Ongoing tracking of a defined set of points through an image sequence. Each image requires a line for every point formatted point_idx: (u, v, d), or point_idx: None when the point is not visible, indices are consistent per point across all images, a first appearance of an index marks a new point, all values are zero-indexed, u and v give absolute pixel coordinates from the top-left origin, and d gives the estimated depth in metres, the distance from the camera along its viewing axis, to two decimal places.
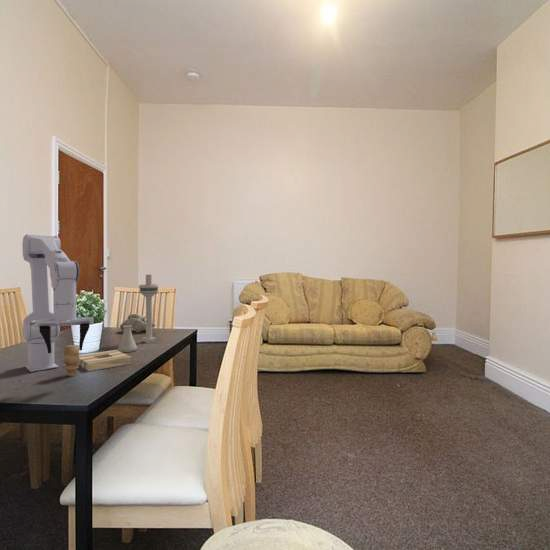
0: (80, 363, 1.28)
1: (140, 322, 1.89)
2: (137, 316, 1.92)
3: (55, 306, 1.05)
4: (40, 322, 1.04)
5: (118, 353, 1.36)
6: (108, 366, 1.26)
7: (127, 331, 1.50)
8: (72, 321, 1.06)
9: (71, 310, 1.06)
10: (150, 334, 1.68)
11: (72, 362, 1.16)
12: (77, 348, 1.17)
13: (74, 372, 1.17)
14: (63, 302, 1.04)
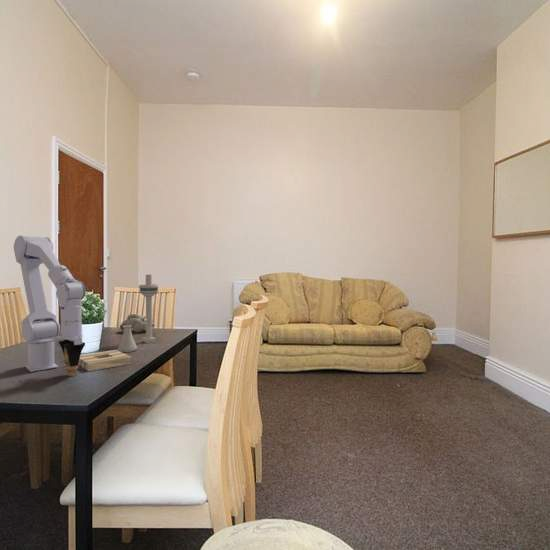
0: (80, 363, 1.28)
1: (140, 322, 1.89)
2: (137, 316, 1.92)
3: None
4: None
5: (118, 353, 1.36)
6: (108, 366, 1.26)
7: (127, 331, 1.50)
8: (63, 338, 1.14)
9: (64, 327, 1.14)
10: (150, 334, 1.68)
11: None
12: None
13: (74, 372, 1.17)
14: (73, 319, 1.15)
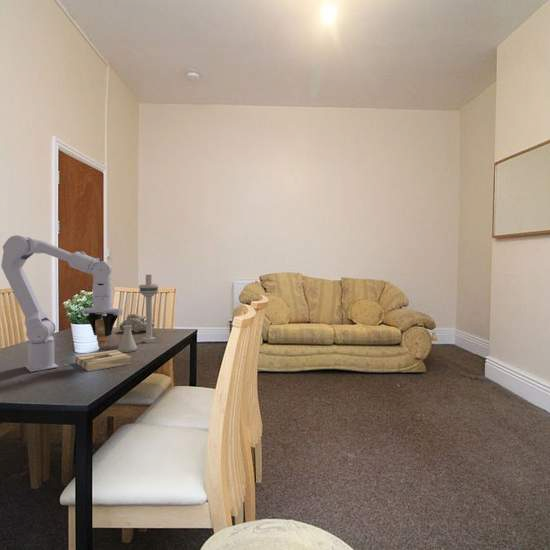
0: (80, 363, 1.28)
1: (139, 322, 1.88)
2: (136, 316, 1.92)
3: (93, 298, 1.30)
4: (85, 309, 1.31)
5: (118, 353, 1.36)
6: (108, 366, 1.26)
7: (127, 331, 1.50)
8: (101, 311, 1.28)
9: (101, 301, 1.28)
10: (150, 334, 1.68)
11: None
12: None
13: (106, 342, 1.31)
14: (109, 294, 1.30)
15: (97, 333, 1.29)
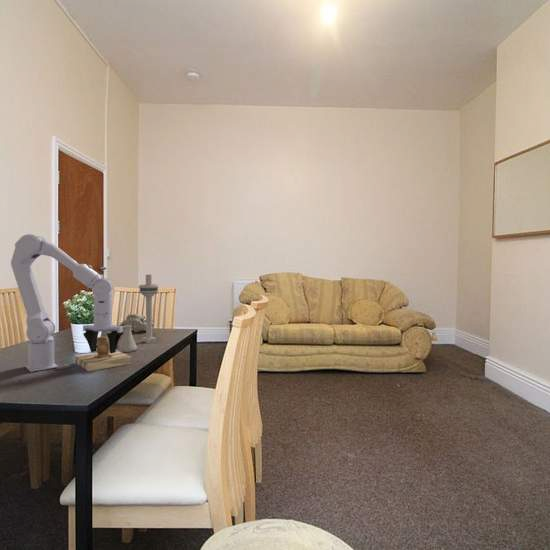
0: (80, 363, 1.28)
1: (139, 322, 1.88)
2: (136, 316, 1.91)
3: None
4: (85, 327, 1.32)
5: (118, 353, 1.36)
6: (108, 366, 1.26)
7: (127, 331, 1.50)
8: (102, 328, 1.28)
9: (102, 319, 1.29)
10: (150, 334, 1.68)
11: (107, 351, 1.31)
12: None
13: None
14: (110, 311, 1.31)
15: (98, 351, 1.30)
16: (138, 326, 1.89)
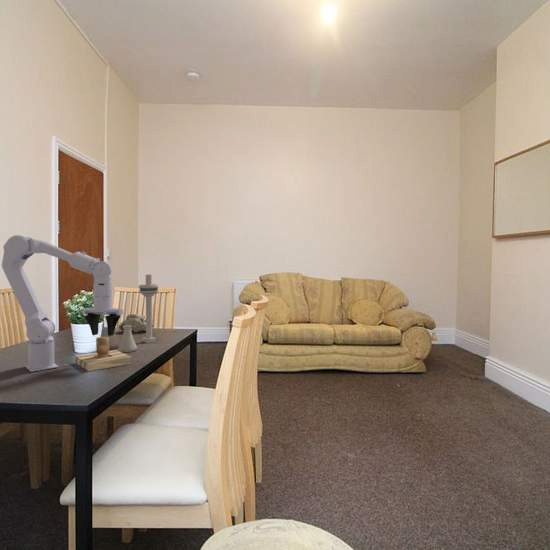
0: (80, 363, 1.28)
1: (138, 322, 1.88)
2: (136, 316, 1.91)
3: None
4: (85, 309, 1.31)
5: (118, 353, 1.36)
6: (108, 366, 1.26)
7: (127, 331, 1.50)
8: (102, 311, 1.28)
9: (102, 301, 1.28)
10: (150, 334, 1.68)
11: (107, 351, 1.31)
12: (108, 338, 1.32)
13: None
14: (110, 294, 1.31)
15: (98, 351, 1.30)
16: (138, 326, 1.89)
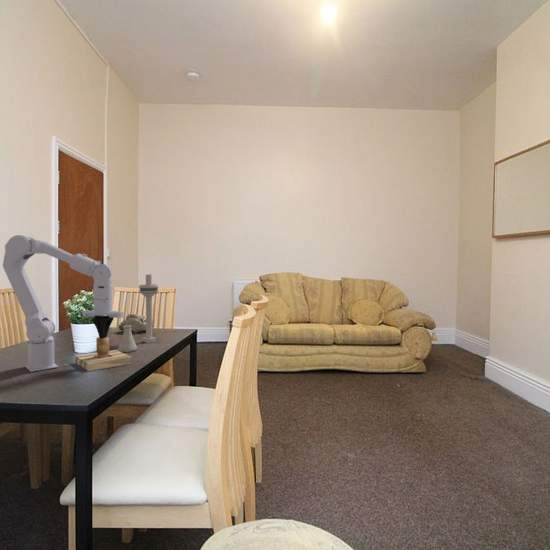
0: (80, 363, 1.28)
1: (138, 322, 1.88)
2: (135, 316, 1.91)
3: None
4: (85, 312, 1.31)
5: (118, 353, 1.36)
6: (108, 366, 1.26)
7: (127, 331, 1.50)
8: (102, 314, 1.28)
9: (102, 304, 1.29)
10: (150, 334, 1.68)
11: (107, 351, 1.31)
12: (108, 338, 1.32)
13: None
14: (110, 297, 1.31)
15: (98, 351, 1.30)
16: (137, 326, 1.89)
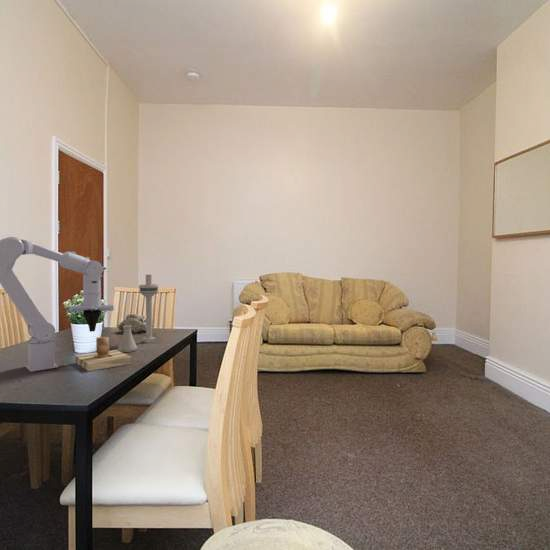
0: (80, 363, 1.28)
1: (138, 322, 1.88)
2: (135, 316, 1.91)
3: (84, 295, 1.34)
4: (73, 307, 1.34)
5: (118, 353, 1.36)
6: (108, 366, 1.26)
7: (127, 331, 1.50)
8: (96, 307, 1.34)
9: (95, 298, 1.34)
10: (150, 334, 1.68)
11: (107, 351, 1.31)
12: (108, 338, 1.32)
13: None
14: (100, 291, 1.37)
15: (98, 351, 1.30)
16: (137, 326, 1.89)
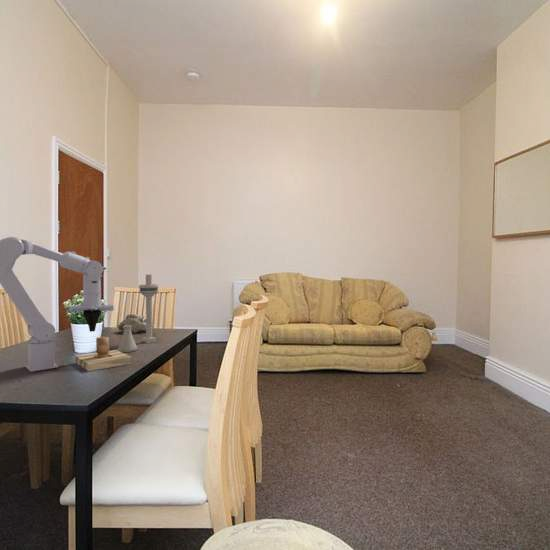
0: (80, 363, 1.28)
1: (137, 322, 1.88)
2: (135, 316, 1.91)
3: (84, 295, 1.34)
4: (73, 307, 1.34)
5: (118, 353, 1.36)
6: (108, 366, 1.26)
7: (127, 331, 1.50)
8: (96, 307, 1.34)
9: (95, 298, 1.34)
10: (150, 334, 1.68)
11: (107, 351, 1.31)
12: (108, 338, 1.32)
13: None
14: (100, 291, 1.37)
15: (98, 351, 1.30)
16: (137, 326, 1.89)
